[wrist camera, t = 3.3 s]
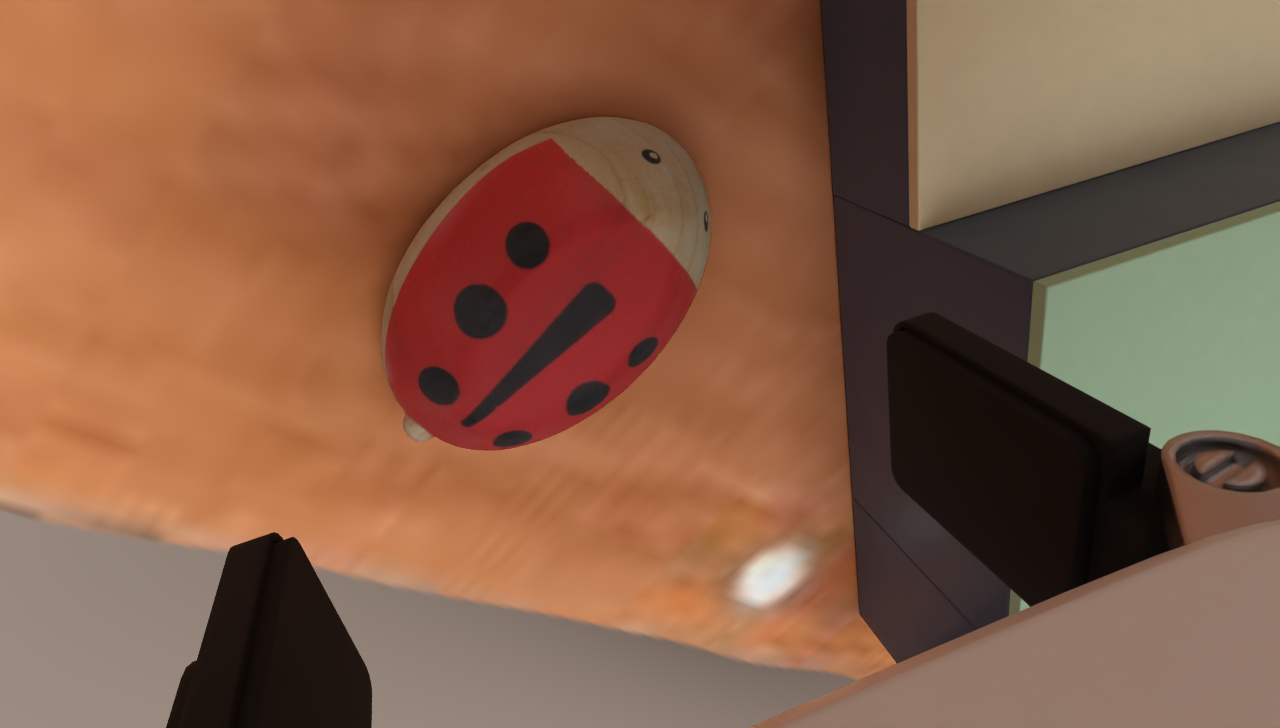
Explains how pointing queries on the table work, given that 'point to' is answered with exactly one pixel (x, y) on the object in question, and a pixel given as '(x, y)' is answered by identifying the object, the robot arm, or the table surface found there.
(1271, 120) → the step rack
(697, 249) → the ladybug figurine
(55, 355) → the table surface
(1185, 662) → the robot arm
